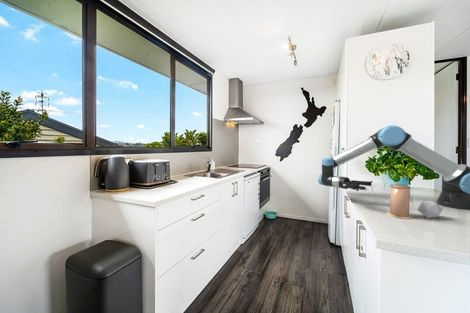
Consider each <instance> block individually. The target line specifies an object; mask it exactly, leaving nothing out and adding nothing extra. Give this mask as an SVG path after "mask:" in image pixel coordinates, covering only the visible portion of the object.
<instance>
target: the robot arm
mask: <svg viewBox="0 0 470 313" xmlns="http://www.w3.org/2000/svg"><path fill="white" fill-rule="evenodd" d="M383 147H388V148H389V149H391V150H393V151H394V152H399V151H400V152H401V153H403V154H405V155H407V156H408V157H410V158H412V160H415V161H416V162H418V163H420V164H421V165H424V166H425V167H426V168H429V169H430V170H432V171H433V172H435V173H437V174H438V175H440V176H441V191H440V194H439V196H438V197H437V200H436V204H437V205H439V206H444V207H448V208H453V209H458V210H459V209H460V210H461V209H462V210H470V166H468V165H466V164H464V163H463V164H458V163H456V162H454V161H452V160H451V159H449V158H447V157H446V156H443V155H442V154H440V153H438V152H436V151H435V150H432V149H431V148H429V147H428V146H426V145H423V144H422V143H420V142H419V141H416V140H414V139H413V135H412V134H410V133H408V132H407V131H405V130H404V129H403V128H402V127H400V126H398V125H388V126H385V127H382V128H380V129H379V130H378V131H377V132H375V133H374V134H372V135H369V136H368V138H367V139H366V140H364V141H361V142H359V143H358V144H355V145H353V146H352V147H350V148H348V149H345V150H344V151H341V152H339V153H338V154H336V155H334V156H332V157H322V159H321V174H319V176H318V178H317V181H318V183H319V184H320V186H325V187H332V188H336V189H345V190H348V189H351V190H353V191H357V192H359V191H364V192H365V191H366V192H373V191H374V190H373V188H378V189H379V188H380V189H385V187H386V186H385V183H381V182H373V181H372V180H371V181H365V180H352V179H351V180H350V178H349V177H347V176H341V175H334V174H335V171H334V170H335V168H336V167H339V166H341V165H343V164H345V163H348V162H349V161H351V160H353V159H356V158H358V157H360V156H362V155H364V154H366V153H368V152H370V151H372V150H374V149H375V150H378V149H380V148H383Z"/></svg>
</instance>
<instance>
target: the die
mask: <svg viewBox="0 0 470 313" xmlns="http://www.w3.org/2000/svg"><path fill="white" fill-rule="evenodd" d="M417 211H418V212H419V213H420V214H422V215H423V216H424V217H426V219H437V218H439V216H440V215H441V214H442V211H443V208H442V207H441V205H440V204H438V203H437V202H435V201H433V200H422V201H421V202H420V204H419V206H418V208H417Z"/></svg>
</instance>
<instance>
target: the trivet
mask: <svg viewBox="0 0 470 313" xmlns="http://www.w3.org/2000/svg"><path fill="white" fill-rule="evenodd" d="M385 213H386V215H387V216H389V217H392V218H396V219H401V220H402V219H403V220H413V219H415V216H414V215H413V214H411V213H409V217H400V216H395V215H392V214H390V210H387V211H386V212H385Z"/></svg>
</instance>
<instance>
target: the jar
mask: <svg viewBox="0 0 470 313" xmlns="http://www.w3.org/2000/svg"><path fill="white" fill-rule="evenodd" d="M410 198H411V186H410V185H407V184H396V183H395V184H394V183H392V184H390V202H389V203H390V206H389V207H390V209H389V211H390V214H392V215H395V216H400V217H409V214H410V207H411V206H410V203H411V202H410V201H411V200H410Z"/></svg>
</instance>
